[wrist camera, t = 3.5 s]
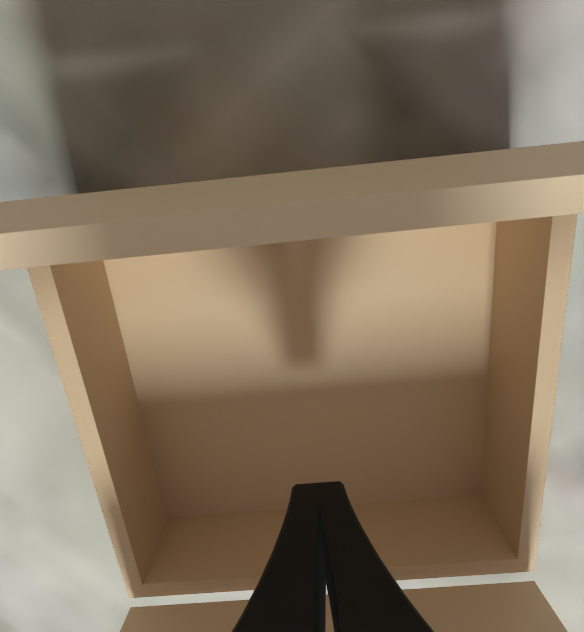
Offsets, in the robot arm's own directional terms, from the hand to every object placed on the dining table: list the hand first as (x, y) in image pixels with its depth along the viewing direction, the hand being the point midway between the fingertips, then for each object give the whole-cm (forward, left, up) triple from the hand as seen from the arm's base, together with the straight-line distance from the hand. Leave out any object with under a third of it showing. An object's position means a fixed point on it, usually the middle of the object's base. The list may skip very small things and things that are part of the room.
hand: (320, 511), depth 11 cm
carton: (-1, -2, -5) cm, 5 cm away
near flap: (-4, -7, +1) cm, 8 cm away
